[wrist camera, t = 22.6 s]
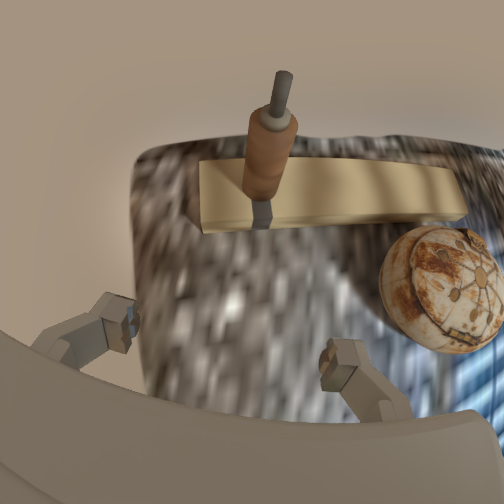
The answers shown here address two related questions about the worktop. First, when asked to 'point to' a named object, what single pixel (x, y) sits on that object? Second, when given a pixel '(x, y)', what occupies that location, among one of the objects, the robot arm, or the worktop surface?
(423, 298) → the trinket box
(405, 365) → the worktop surface
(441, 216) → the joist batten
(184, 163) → the worktop surface
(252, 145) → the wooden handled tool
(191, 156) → the worktop surface
